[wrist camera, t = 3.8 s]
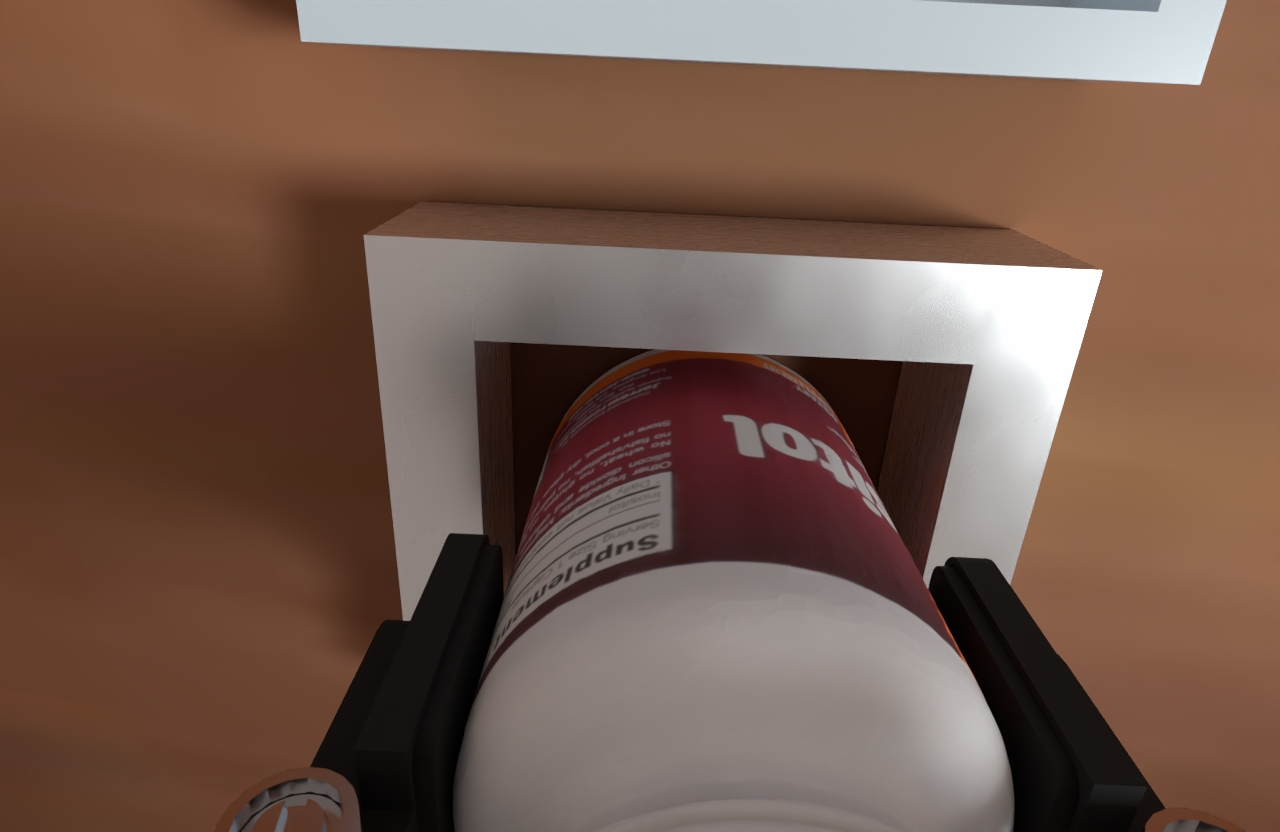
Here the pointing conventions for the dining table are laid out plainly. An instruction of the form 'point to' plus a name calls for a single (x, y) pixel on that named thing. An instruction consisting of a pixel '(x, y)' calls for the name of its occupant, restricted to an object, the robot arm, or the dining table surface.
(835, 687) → the pill bottle
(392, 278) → the holder
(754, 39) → the tray
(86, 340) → the dining table surface
